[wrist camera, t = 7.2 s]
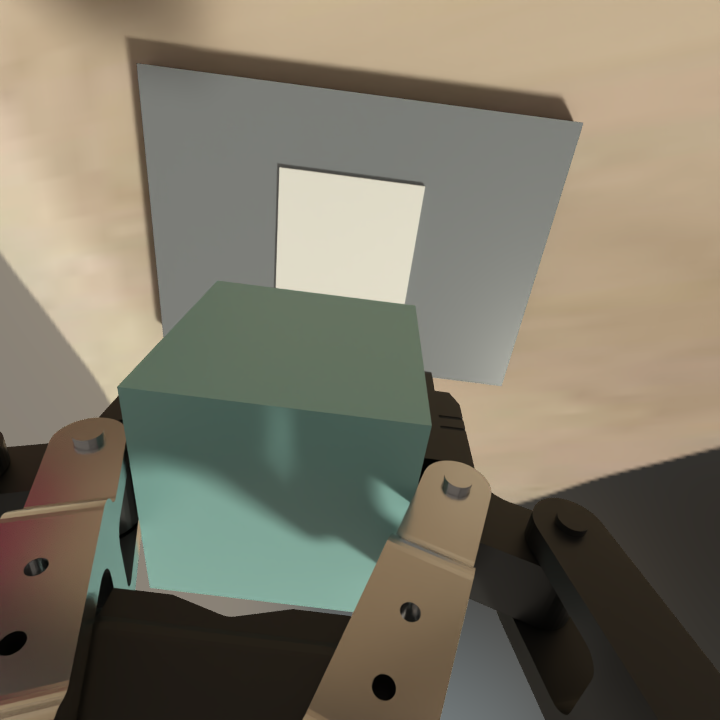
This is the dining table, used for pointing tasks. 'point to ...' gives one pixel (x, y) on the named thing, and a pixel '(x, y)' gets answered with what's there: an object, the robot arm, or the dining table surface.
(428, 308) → the plate
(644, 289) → the dining table surface
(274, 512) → the teal cube
